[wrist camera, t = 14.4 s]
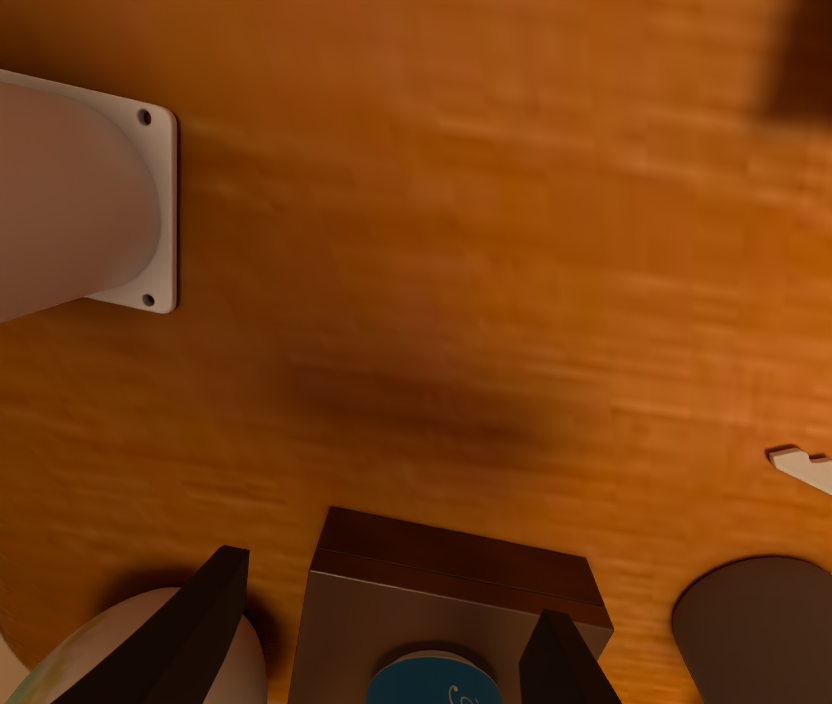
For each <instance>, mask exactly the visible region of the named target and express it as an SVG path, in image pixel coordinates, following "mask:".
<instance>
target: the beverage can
mask: <svg viewBox="0 0 832 704" xmlns="http://www.w3.org/2000/svg"><path fill="white" fill-rule="evenodd" d="M365 704H503V703H502V697H501V693H500V691H499V689H498V687H497V685H496V684H495V682H494V681H493V680H492V679H491V678H490V676H488V675H487V674H486V673H485V672H483V671H482V670H481V669H479V668H477V667H476V666H475V665H474V664H473V663H471V662H470V661H469V660H467V659H465V658H463V657H461V656H459V655H456V654H454V653H450V652H445V651H438V650H424V651H417V652H412V653H409V654H406V655H404V656H402V657H400V658H398V659H397V660H395V661H394V662H393V663H392V664H390V665H388V666H386V667H385V668H383V669H382V670H381V671H379V672H378V673H377V674H376V675H375V676H374V678H373V679H372V680H371V682H370V684H369V686H368V689H367V694H366V701H365Z"/></svg>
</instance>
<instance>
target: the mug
mask: <svg viewBox="0 0 832 704" xmlns="http://www.w3.org/2000/svg"><path fill="white" fill-rule="evenodd" d="M673 632H674V637H675V640H676V643H677V645H678V648H679V650H680V653H681V655H682V657H683V659H684V661H685V664H686V666H687V668H688V670H689V672H690V674H691V676H692V678H693V680H694V682H695V685H696V687H697V689H698V691H699V693H700V695H701V697H702V699H703V701H704V703H705V704H832V576H831V575H830V574H829V573H827V572H826V571H824V570H822V569H820V568H818V567H816V566H814V565H812V564H810V563H807V562H804V561H801V560H796V559H791V558H781V557H766V558H756V559H750V560H745V561H741V562H738V563H734V564H731V565H728V566H726V567H723V568H721V569H719V570H716V571H715V572H713V573H711V574H709V575H707V576H706V577H704V578H703V579H701V580H700V581H698V582H697V583H696V584H695V585H694V586H692V587H691V588H690V589H689V590H688V591H687V592H686V594H685V595H684V596H683V597H682V599H681V600H680V602H679V603H678V605H677V607H676V610H675V613H674V617H673Z"/></svg>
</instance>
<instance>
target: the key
mask: <svg viewBox="0 0 832 704" xmlns="http://www.w3.org/2000/svg"><path fill="white" fill-rule="evenodd" d="M769 456H770V460H771V463H772V465H774V466H775V467H776V468H777V469H779V470H781V471H783V472H785V473H787V474H789V475H791V476H794V477H796V478H798V479H800V480H802V481H804V482H806V483H808V484H810V485H812V486H814V487H816V488H818V489H820V490H822V491H824V492H826V493H828V494H830V495H832V459H830V458H828V457H826V458H821V459H813V460H809V456H808V454H807V453H806V452H805V451H803V450H801V449H799V448H791V449H786V450H782V451H777V452H772V453H769Z"/></svg>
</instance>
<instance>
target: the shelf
mask: <svg viewBox="0 0 832 704" xmlns="http://www.w3.org/2000/svg"><path fill="white" fill-rule="evenodd" d="M544 608H545V609H550V610H555V611H560V612H565V613H568V614H569V616H570V617H571V619H572V621H573V622H574V624H575V626H576V627H577V629H578V631H579V632H580V634H581V636H582V637H583V639H584V641H585V642H586V644H587V646H588V648H589V649H590V651H591V653H592V654H593V656H594V658H595V659H596V661H597V660H598V658H599V656H600V655H601V653H602V651H603V649H604V648H605V646H606V644H607V642H608V641H609V639H610V637H611V635H612V634H613V632H614V628H613V625H612V623H611V620H610V618H609V615H608V613H607V610H606V608H605V605H604V602H603V600H602V597H601V595H600V592H599V590H598V587H597V584H596V582H595V579H594V577H593V574H592V572H591V569H590V567H589V564H588V562H587V559H585V558H581V557H576V556H571V555H566V554H561V553H556V552H551V551H546V550H541V549H536V548H531V547H526V546H521V545H517V544H512V543H507V542H502V541H497V540H492V539H487V538H482V537H477V536H472V535H467V534H462V533H457V532H452V531H447V530H443V529H438V528H433V527H428V526H423V525H418V524H413V523H408V522H403V521H398V520H393V519H388V518H383V517H378V516H374V515H369V514H364V513H359V512H354V511H349V510H344V509H339V508H334V507H330V508H329V511H328V514H327V517H326V520H325V523H324V526H323V529H322V532H321V535H320V538H319V541H318V544H317V547H316V551H315V554H314V557H313V560H312V562H311V565H310V568H309V573H308V580H307V586H306V592H305V598H304V604H303V610H302V616H301V623H300V629H299V635H298V641H297V647H296V653H295V660H294V666H293V672H292V678H291V684H290V690H289V697H288V703H287V704H365V701H366V694H367V689H368V686H369V684H370V682H371V680H372V679H373V678H374V676H375V675H376V674H377V673H378V672H379V671H381V670H382V669H383V668H385V667H386V666H388V665H390V664H392V663H393V662H394V661H395V660H397V659H398V658H400V657H402V656H404V655H406V654H409V653H412V652H417V651H424V650H438V651H445V652H450V653H454V654H456V655H459V656H461V657H463V658H465V659H467V660H469V661H470V662H471V663H473V664H474V665H475V666H476V667H477V668H479V669H481V670H482V671H483V672H485V673H486V674H487V675H488V676H490V678H491V679H492V680H493V681H494V682H495V684H496V685H497V687H498V689H499V691H500V693H501V697H502V703H503V704H522V703H521V692H520V677H519V660H520V658H521V656H522V654H523V652H524V650H525V648H526V645H527V643H528V641H529V639H530V637H531V635H532V632H533V630H534V628H535V626H536V624H537V622H538V619H539V617H540V615H541V613H542V611H543V609H544Z"/></svg>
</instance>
